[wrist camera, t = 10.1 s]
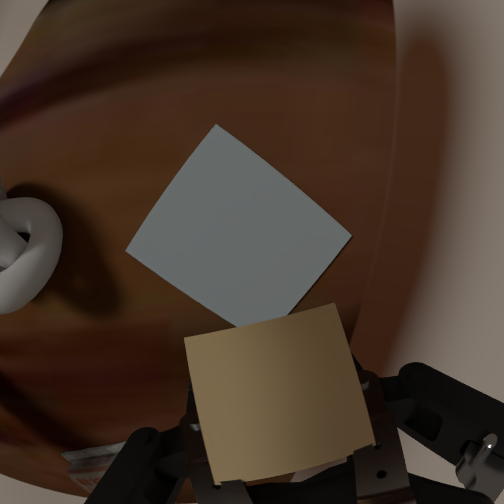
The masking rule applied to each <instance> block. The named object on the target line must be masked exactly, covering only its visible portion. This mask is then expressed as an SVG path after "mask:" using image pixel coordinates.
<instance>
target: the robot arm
mask: <svg viewBox="0 0 504 504" xmlns="http://www.w3.org/2000/svg"><path fill="white" fill-rule="evenodd" d="M351 355H352V358H353V362H354V365H355V368H356V372H357V375H358V379H359V382H360V386H361V389H362V393H363V396H364V400H365V404H366V407H367V411H368V415H369V419H370V423H371V426H372V430H373V435H374V439H375V443H376V445H375V446H372V445H373V444H374V443H372V444H370V445H367V446H365V447H362V448H360V449H357V450H354V451H353V454H351V455H349V456H346V457H347V462H345V463H342V464H339V465H336V466H333V467H330V468H328V469H326V470H324V471H322V472H320V473H318V474H316V475H314V476H312V477H311V478H308V479H307V480H304V481H302V482H289V483H265V484H259V485H253V486H247V484H246V482H245V481H244V482H242V481H241V479H238V480H230V481H221V482H220V483H221V484H220V485H215V482H214V478H213V475H212V471H211V467H210V463H209V459H208V456H207V451H206V447H205V443H204V439H203V435H202V430H201V426H200V421H199V417H198V412H197V407H196V402H195V397H194V392H193V387H192V382H191V376H190V385H189V392H188V401H187V411H186V414H185V415H184V416H183V417H182V418H181V420H180V422H179V425H178V426H176V427H175V428H172V429H170V430H167V431H164V432H161V433H159V431H158V430H156V429H155V428H152V427H144V428H140V429H138V430H136V431H135V432H133V433H132V434H131V436H130V437H129V438H128V440H127V441H126V443H125V444H124V446H123V447H122V449H121V450H120V452H119V453H118V455H117V456H116V457H115V459H114V460H113V462H112V463H111V465H110V466H109V468H108V469H107V471H106V472H105V474H104V475H103V477H102V478H101V479H100V481H99V482H98V484H97V485H96V487H95V488H94V490H93V491H92V493H91V494H90V496H89V497H88V498H87V500H86V501H85V503H84V504H174V502H175V500H176V498H177V496H178V493H179V491H180V489H181V487H182V485H183V483H184V481H185V479H186V476H187V475H188V474H189V478H190V481H191V484H192V488H193V491H194V494H195V497H196V500H197V503H198V504H494V502H495V500H496V499H497V498H498V496H499V495H500V493H501V492H502V490H503V489H504V403H502V402H500V401H498V400H496V399H494V398H492V397H490V396H488V395H486V394H483V393H482V392H480V391H478V390H476V389H474V388H471V387H470V386H468V385H466V384H464V383H461V382H459V381H457V380H456V379H454V378H452V377H450V376H448V375H445V374H443V373H442V372H440V371H438V370H436V369H433V368H432V367H430V366H428V365H426V364H424V363H419V362H413V363H409V364H406V365H404V366H403V367H402V368H401V369H400V371H399V374H398V376H392V377H384V378H378V376H377V375H376V374H375V373H373V372H371V371H367V370H363V368H362V367H361V365H360V364H359V363H358V361H357V360H356V359H355V357H354V356H353V354H352V353H351ZM397 427H398V428H399V429H401V430H402V431H404V432H405V433H406V434H408V435H409V436H411V437H412V438H414V439H415V440H417V441H418V442H420V443H421V444H422V445H424V446H425V447H427V448H429V449H430V450H431V451H433V452H435V453H436V454H438V455H439V456H441V457H442V458H444V459H445V460H447V461H448V462H450V463H452V464H453V465H455V466H456V476H457V478H458V480H459V482H461V483H463V484H464V486H465V489H464V488H459V487H456V486H452V485H448V484H444V483H440V482H437V481H433V480H430V479H427V478H424V477H420V476H417V475H414V474H411V473H408V472H407V469H406V464H405V459H404V455H403V450H402V446H401V442H400V438H399V434H398V430H397Z"/></svg>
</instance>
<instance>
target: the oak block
mask: <svg viewBox="0 0 504 504" xmlns="http://www.w3.org/2000/svg"><path fill="white" fill-rule="evenodd" d="M184 340H185V346H186V353H187V359H188V365H189V370H190V376H191V382H192V387H193V392H194V397H195V402H196V407H197V412H198V417H199V421H200V426H201V430H202V435H203V439H204V443H205V447H206V451H207V456H208V459H209V463H210V467H211V471H212V475H213V478H214V482H215V485H220V484H221V483H220V482H221V481H230V480H238V479H241V481H242V482H244V481H251V480H257V479H263V478H268V477H273V476H278V475H282V474H287V473H291V472H295V471H299V470H303V469H307V468H311V467H314V466H317V465H321V464H324V463H327V462H331V461H334V460H337V459H340V458H343V457H346V456H349V455H351V454H353V451H354V450H357V449H360V448H362V447H365V446H367V445H370V444H372V443H374V444H373V445H372V446H375V445H376V443H375V439H374V435H373V430H372V426H371V423H370V419H369V415H368V411H367V407H366V404H365V400H364V396H363V393H362V389H361V386H360V382H359V379H358V375H357V372H356V368H355V365H354V362H353V358H352V355H351V352H350V349H349V345H348V342H347V339H346V336H345V333H344V330H343V327H342V323H341V320H340V317H339V314H338V311H337V308H336V305H335V303H331V304H328V305H324V306H321V307H317V308H313V309H310V310H306V311H302V312H298V313H295V314H291V315H287V316H283V317H279V318H275V319H271V320H266V321H262V322H258V323H254V324H249V325H245V326H240V327H236V328H231V329H227V330H222V331H217V332H212V333H207V334H202V335H197V336H192V337H186V338H184Z"/></svg>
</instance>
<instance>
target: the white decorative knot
mask: <svg viewBox="0 0 504 504" xmlns="http://www.w3.org/2000/svg"><path fill="white" fill-rule="evenodd" d="M19 232H26V233H30V234H31V235H30V239H29V242H28V243H27V242H26V241H25V240H24V239H23V238H22V237H21V236H20V235H18V234H17V233H19ZM62 239H63V230H62V224H61V221H60V219H59V217H58V215H57V214H56V212H55V211H54V209H53V208H52V207H51V206H50V205H49V204H47V203H46V202H44V201H42V200H39V199H36V198H30V197H20V198H12V199H7V195H6V191H5V188H4V186H3V183H2V180H1V178H0V314H8V313H11V312H13V311H16V310H18V309H19V308H21V307H23V306H24V305H26V304H27V303H28V302H29V301H31V300H32V299H33V298H34V297H35V296H36V295H37V294H38V293H39V292H40V290H41V289H42V288H43V287H44V286H45V284H46V283H47V281H48V280H49V278H50V277H51V275H52V273H53V271H54V269H55V267H56V265H57V263H58V260H59V256H60V253H61V247H62Z"/></svg>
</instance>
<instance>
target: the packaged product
mask: <svg viewBox="0 0 504 504" xmlns="http://www.w3.org/2000/svg"><path fill="white" fill-rule="evenodd" d="M125 443H126V441H125V442H122V443H119V444H112V445H106V446H100V447H93V448H86V449H83V450H77V451H71V452H63V453H62V454H61V456H63V457H64V458H65V459H66V460H68V461H69V462H70V463H72V465H70V467H69V470H68V473H67V475H68V476H69V478H70V479H71V480H72V481H73V482H74V483H76V484H77V485H79V486H80V487H82V488H83V489H84V490H86V491H88V492H89V493H92V491H93V490H94V488H95V487H96V485H97V484H98V482H99V481H100V479H101V478H102V477H103V475H104V474H105V472H106V471H107V469H108V468H109V466H110V465H111V463H112V462H113V460H114V459H115V457H116V456H117V455H118V453H119V452H120V450H121V449H122V447H123V446H124V444H125Z"/></svg>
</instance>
